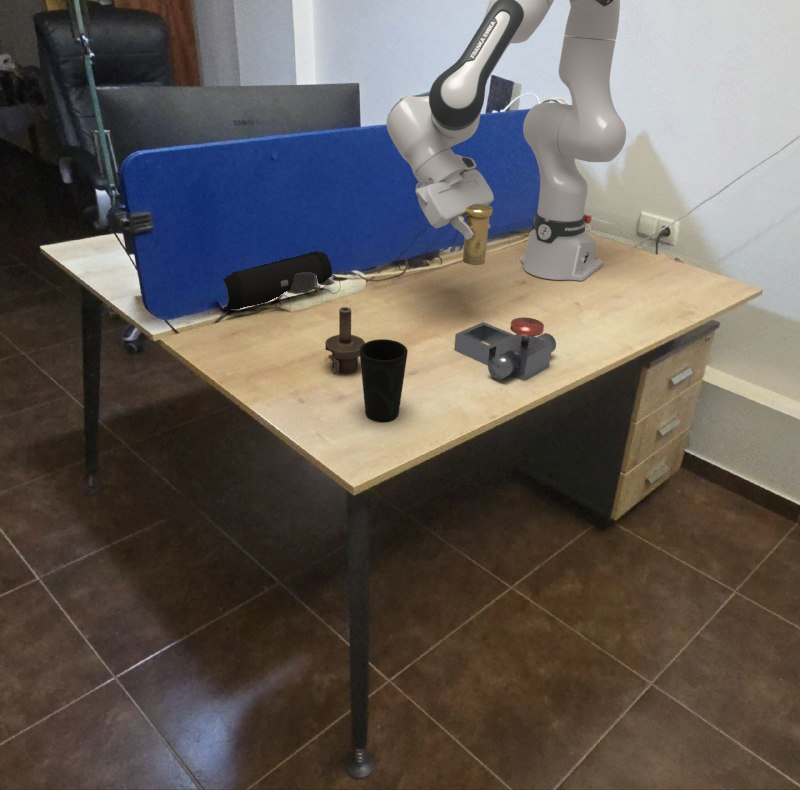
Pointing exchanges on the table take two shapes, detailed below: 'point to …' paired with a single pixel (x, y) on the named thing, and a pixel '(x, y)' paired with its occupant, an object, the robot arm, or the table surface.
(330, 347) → the industrial component
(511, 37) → the robot arm
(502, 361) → the valve body
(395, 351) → the cup
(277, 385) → the table surface
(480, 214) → the pipe stub
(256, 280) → the portable speaker
